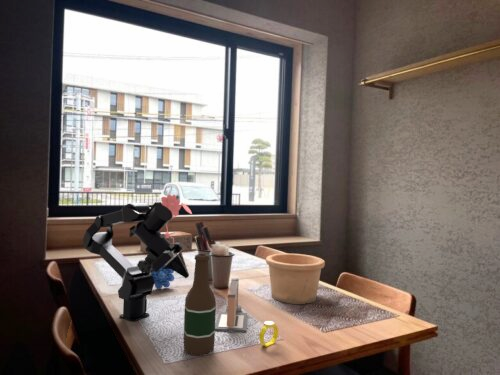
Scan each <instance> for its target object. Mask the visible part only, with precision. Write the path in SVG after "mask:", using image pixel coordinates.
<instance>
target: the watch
mask: <svg viewBox="0 0 500 375" xmlns="http://www.w3.org/2000/svg"><path fill="white" fill-rule="evenodd" d="M268 328H273V334H272V338H271V339H270V341H268V342H265V334H266V331H267V330H268ZM278 336H279V328H278V325H277V324H276V323H275V321H273V320H266V321H264V322H263V326H262V327H261V329H260V332H259V343H260V344H261V345H262V346H263V347H266V348H267V347H270V346H272V345H275V343H276V341H277V340H278Z"/></svg>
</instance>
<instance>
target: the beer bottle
mask: <svg viewBox="0 0 500 375" xmlns="http://www.w3.org/2000/svg"><path fill="white" fill-rule="evenodd" d="M193 259H194V260H195V263H194V264H195V265H194V274H193V282H192V286H191V287H190V289H189V291H188V292H187V295H186V296H185V300H184V315H183V316H184V321H183V348H184V351H185V352H186V354H187V355H191V356H196V357H199V356H205V355H209V354H210V353H212V351H213V350H214V348H215V339H216V338H215V334H216V331H215V325H216V314H217V313H216V311H217V310H216V308H217V305H216V301H217V300H216V297H215V293H214V292H213V290H212V289H211V286H210V280H209V276H210V275H209V273H210V272H209V260H210V255H209V254H207V253H197V254H195V255H194V258H193Z"/></svg>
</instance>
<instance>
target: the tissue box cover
mask: <svg viewBox="0 0 500 375" xmlns="http://www.w3.org/2000/svg"><path fill="white" fill-rule="evenodd" d="M166 232H167V231H164V232H160V233H161V234H163V233H164V234H165V233H166ZM168 233H170V236H171V237H172V238H173V239H174V244H175V243H176V242H178V243H181V244H182V245H183V246H184V248H182V249H181V250H180V251H179V252H178V253H180V252H181V251H182V253H183V252H191V251H193V250H192V249H193V233H189V232H184V231H168ZM170 236H169V237H168V238H166V237H165V238H166V239H167V240H168V242H169V243H170V244H172V243H173V239H172V238H171V237H170ZM146 248H147V247H146V246H145V245H144V244H143V243H142V242H141V241H140V252H144V253H146V254H148V253H147V252H146Z"/></svg>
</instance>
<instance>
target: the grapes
mask: <svg viewBox="0 0 500 375" xmlns="http://www.w3.org/2000/svg"><path fill="white" fill-rule="evenodd" d="M164 267H165V265H164V266H163V267H161V268H160V269H159V270H158V271H157V272H156V273H155V272H154V271H153V272H151V274H152V276H153V278H154V288H156V289H157V290H161V289H163V287H164V288H166V289H167V288H169V287H170V286H171V283H172V282H173V281H175V275H174V274H173V273H174V272H175V271H173V270H171V269H163V268H164ZM170 282H171V283H170Z"/></svg>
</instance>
